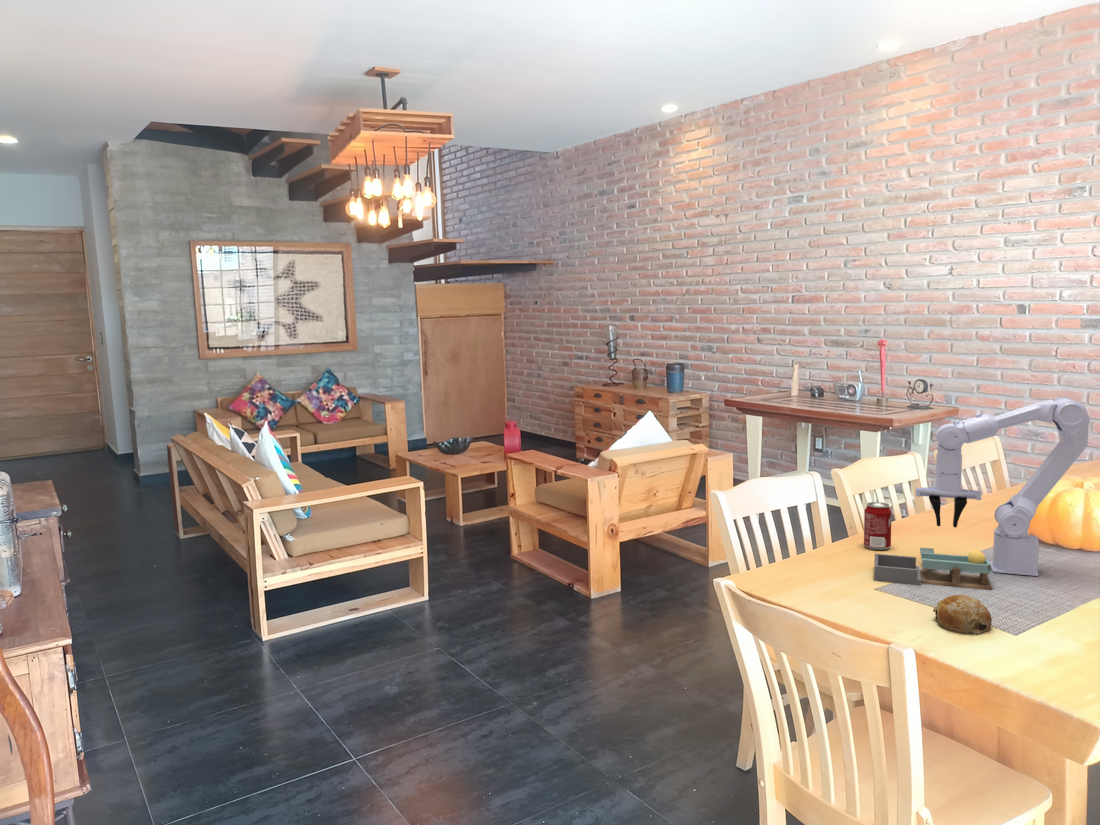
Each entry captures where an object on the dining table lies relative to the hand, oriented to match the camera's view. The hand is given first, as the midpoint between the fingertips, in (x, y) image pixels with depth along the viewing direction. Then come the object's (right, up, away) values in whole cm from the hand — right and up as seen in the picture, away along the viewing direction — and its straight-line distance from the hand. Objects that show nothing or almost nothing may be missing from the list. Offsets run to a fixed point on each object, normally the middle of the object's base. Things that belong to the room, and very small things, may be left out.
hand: (946, 525), depth 197 cm
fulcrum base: (-4, -11, -11) cm, 16 cm away
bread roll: (-15, -15, -36) cm, 42 cm away
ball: (0, -6, -13) cm, 15 cm away
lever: (-2, -8, -8) cm, 11 cm away
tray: (-15, -11, -6) cm, 20 cm away
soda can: (-11, -9, +17) cm, 21 cm away
